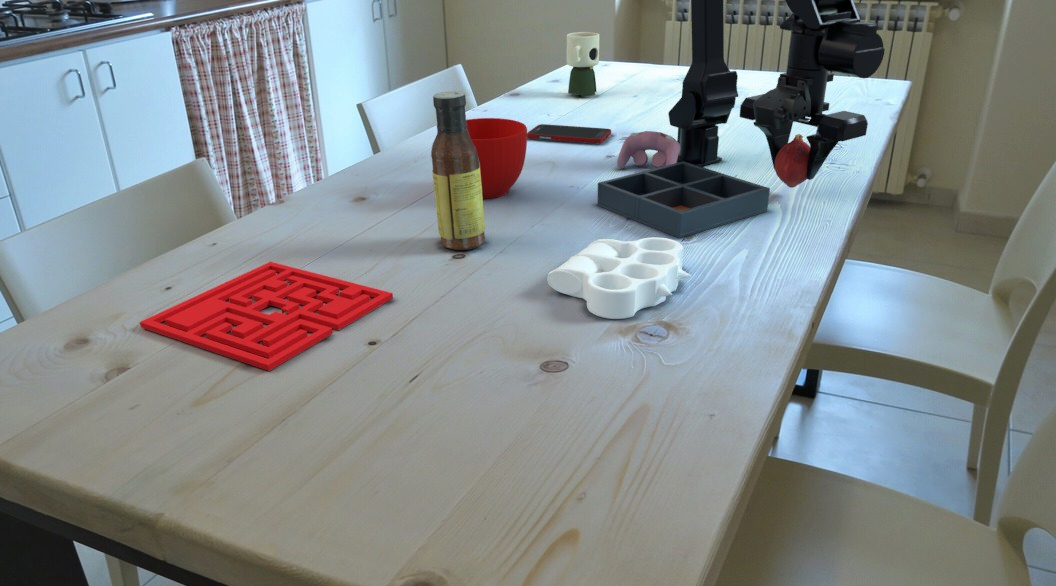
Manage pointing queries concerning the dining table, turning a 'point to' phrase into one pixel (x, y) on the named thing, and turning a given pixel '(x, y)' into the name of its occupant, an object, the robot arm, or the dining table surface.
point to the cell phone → (569, 133)
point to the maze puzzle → (282, 330)
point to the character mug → (582, 62)
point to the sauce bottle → (456, 176)
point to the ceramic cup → (498, 152)
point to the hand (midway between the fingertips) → (793, 174)
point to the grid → (682, 198)
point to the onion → (793, 162)
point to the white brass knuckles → (621, 275)
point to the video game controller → (649, 141)
